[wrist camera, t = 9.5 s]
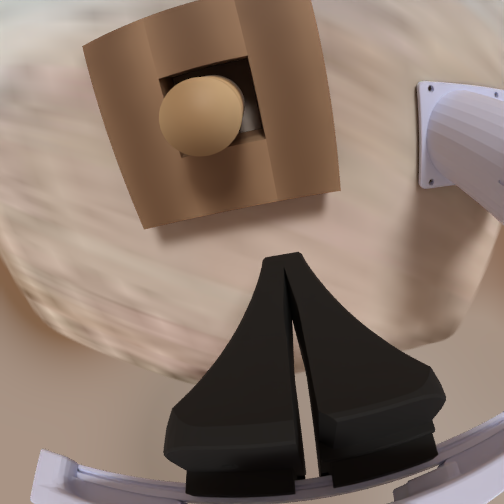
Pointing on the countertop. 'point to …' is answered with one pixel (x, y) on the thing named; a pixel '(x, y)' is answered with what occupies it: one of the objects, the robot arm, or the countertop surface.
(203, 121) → the peg
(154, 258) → the countertop surface
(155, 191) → the walnut block
